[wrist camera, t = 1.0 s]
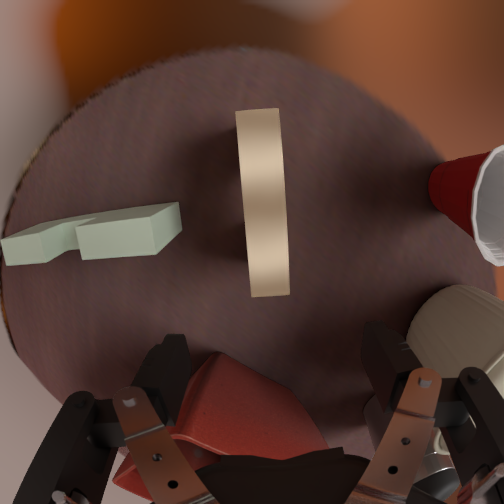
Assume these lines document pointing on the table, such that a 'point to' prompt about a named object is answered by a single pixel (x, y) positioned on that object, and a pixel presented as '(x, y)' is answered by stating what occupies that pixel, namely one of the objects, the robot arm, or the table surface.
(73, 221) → the notched board
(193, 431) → the plant pot
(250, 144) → the slotted plate
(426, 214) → the table surface
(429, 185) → the plastic cup
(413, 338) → the canister
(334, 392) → the table surface
